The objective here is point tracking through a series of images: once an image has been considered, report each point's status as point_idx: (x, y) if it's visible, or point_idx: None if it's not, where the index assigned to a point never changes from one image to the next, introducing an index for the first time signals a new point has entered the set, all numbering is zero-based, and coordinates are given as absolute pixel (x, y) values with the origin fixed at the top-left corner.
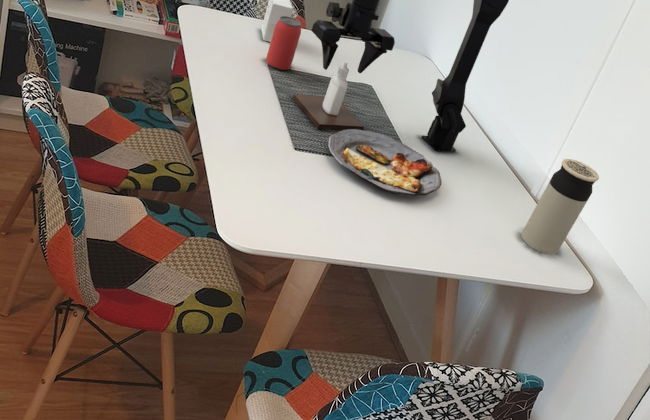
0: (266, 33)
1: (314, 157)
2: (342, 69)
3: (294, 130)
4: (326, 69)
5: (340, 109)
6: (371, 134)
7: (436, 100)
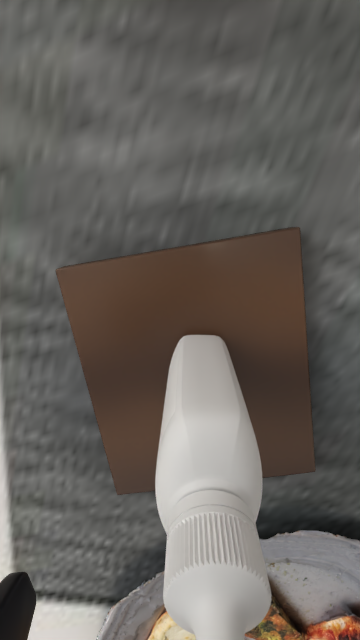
0: None
1: (68, 617)
2: (186, 628)
3: (31, 505)
4: (30, 609)
5: (260, 359)
6: (306, 546)
7: None
